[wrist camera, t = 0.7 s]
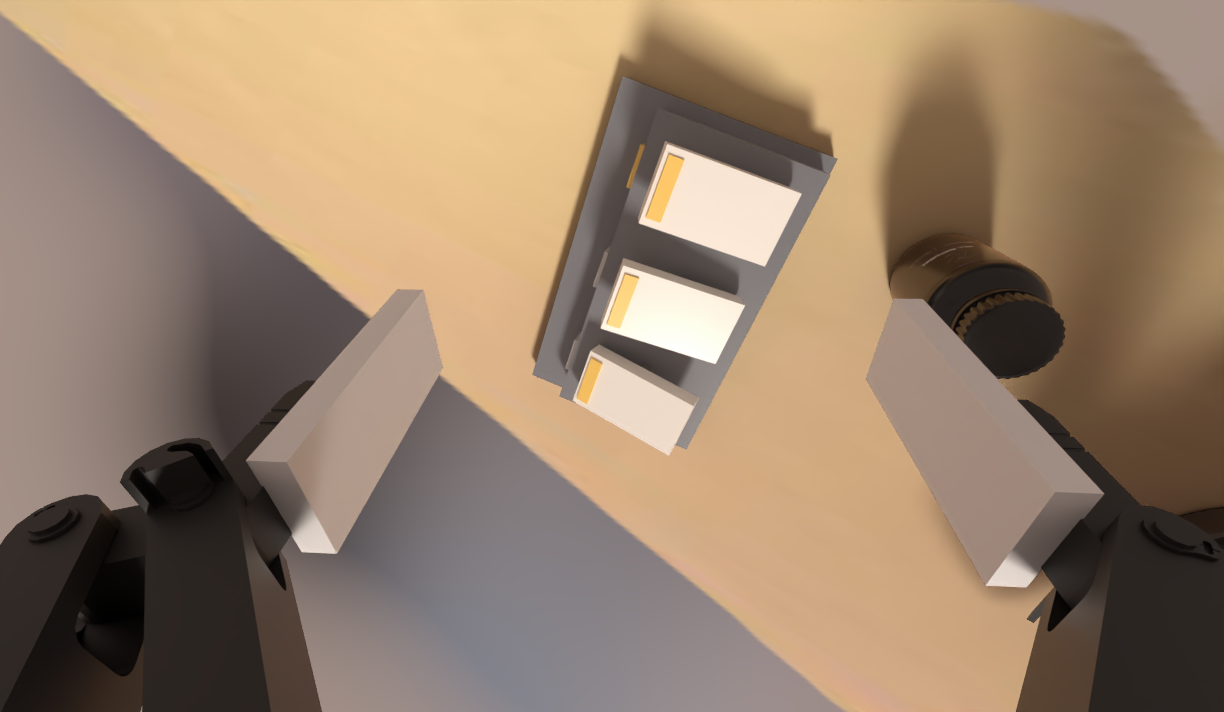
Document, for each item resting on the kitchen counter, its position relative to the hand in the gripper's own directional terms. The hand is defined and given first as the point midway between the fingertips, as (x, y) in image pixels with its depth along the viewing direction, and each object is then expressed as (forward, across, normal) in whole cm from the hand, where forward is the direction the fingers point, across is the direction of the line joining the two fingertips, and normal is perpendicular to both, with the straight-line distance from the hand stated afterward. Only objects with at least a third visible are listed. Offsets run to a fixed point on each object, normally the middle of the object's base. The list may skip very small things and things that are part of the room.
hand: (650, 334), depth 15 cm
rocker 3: (+18, +1, +18) cm, 26 cm away
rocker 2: (+19, -2, +10) cm, 22 cm away
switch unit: (+26, -2, +11) cm, 28 cm away
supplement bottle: (+24, -22, +9) cm, 33 cm away
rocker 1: (+20, -4, +3) cm, 21 cm away
